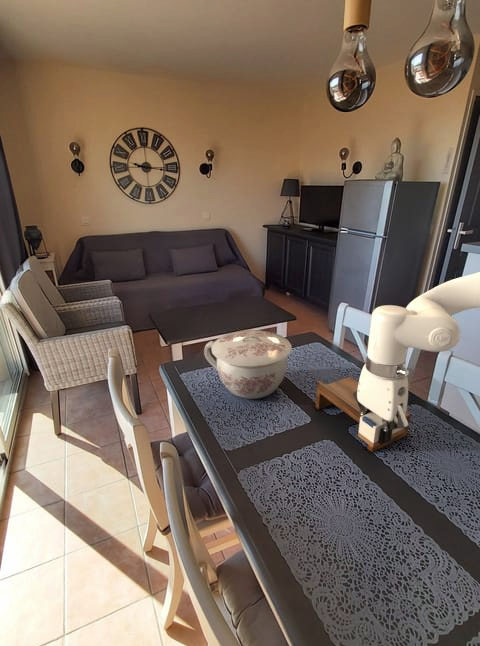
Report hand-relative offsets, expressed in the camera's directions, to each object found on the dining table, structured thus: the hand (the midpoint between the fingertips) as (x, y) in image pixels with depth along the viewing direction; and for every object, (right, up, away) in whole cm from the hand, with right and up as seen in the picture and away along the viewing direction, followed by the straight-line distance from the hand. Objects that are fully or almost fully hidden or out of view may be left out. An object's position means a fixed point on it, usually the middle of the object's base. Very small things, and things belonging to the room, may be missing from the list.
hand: (375, 434), depth 82 cm
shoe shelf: (+6, -4, +29) cm, 30 cm away
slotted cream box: (+2, 0, +1) cm, 2 cm away
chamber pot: (-26, +3, +48) cm, 55 cm away
